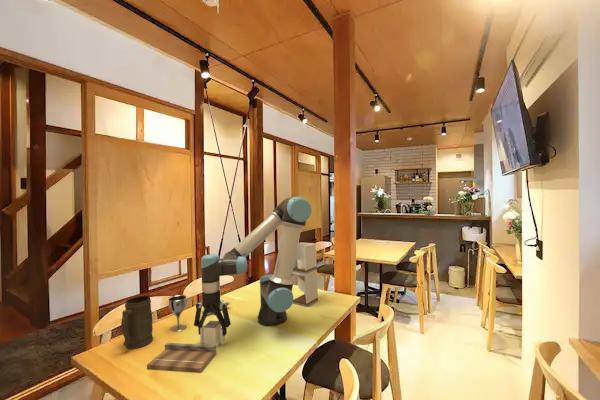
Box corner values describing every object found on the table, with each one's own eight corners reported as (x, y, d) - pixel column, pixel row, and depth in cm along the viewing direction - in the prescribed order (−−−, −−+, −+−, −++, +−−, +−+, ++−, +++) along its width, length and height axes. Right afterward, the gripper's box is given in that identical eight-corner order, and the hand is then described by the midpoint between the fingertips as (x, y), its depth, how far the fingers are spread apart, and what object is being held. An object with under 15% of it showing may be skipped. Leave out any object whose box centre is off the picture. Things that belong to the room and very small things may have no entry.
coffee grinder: (303, 297, 170) (301, 242, 171) (317, 300, 164) (315, 243, 164) (292, 303, 161) (290, 245, 161) (307, 307, 155) (305, 246, 155)
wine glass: (180, 332, 130) (179, 301, 130) (166, 331, 131) (165, 300, 131) (190, 324, 137) (189, 295, 137) (176, 323, 139) (175, 294, 139)
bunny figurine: (198, 307, 150) (220, 296, 162) (199, 315, 151) (221, 304, 163) (208, 311, 145) (230, 299, 156) (209, 320, 145) (231, 307, 157)
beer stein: (134, 336, 127) (131, 295, 126) (157, 334, 128) (155, 293, 127) (114, 357, 112) (111, 310, 110) (141, 355, 113) (138, 309, 111)
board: (216, 353, 110) (216, 345, 110) (201, 372, 98) (200, 362, 98) (167, 351, 113) (167, 342, 113) (146, 368, 101) (146, 359, 101)
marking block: (221, 341, 120) (220, 320, 120) (215, 348, 114) (214, 327, 114) (210, 340, 121) (210, 320, 121) (204, 347, 115) (203, 326, 115)
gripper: (237, 288, 120) (239, 338, 120) (193, 287, 123) (194, 336, 123) (230, 293, 112) (232, 348, 112) (183, 293, 116) (185, 345, 116)
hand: (212, 342), depth 118 cm, fingers open, 9 cm apart
